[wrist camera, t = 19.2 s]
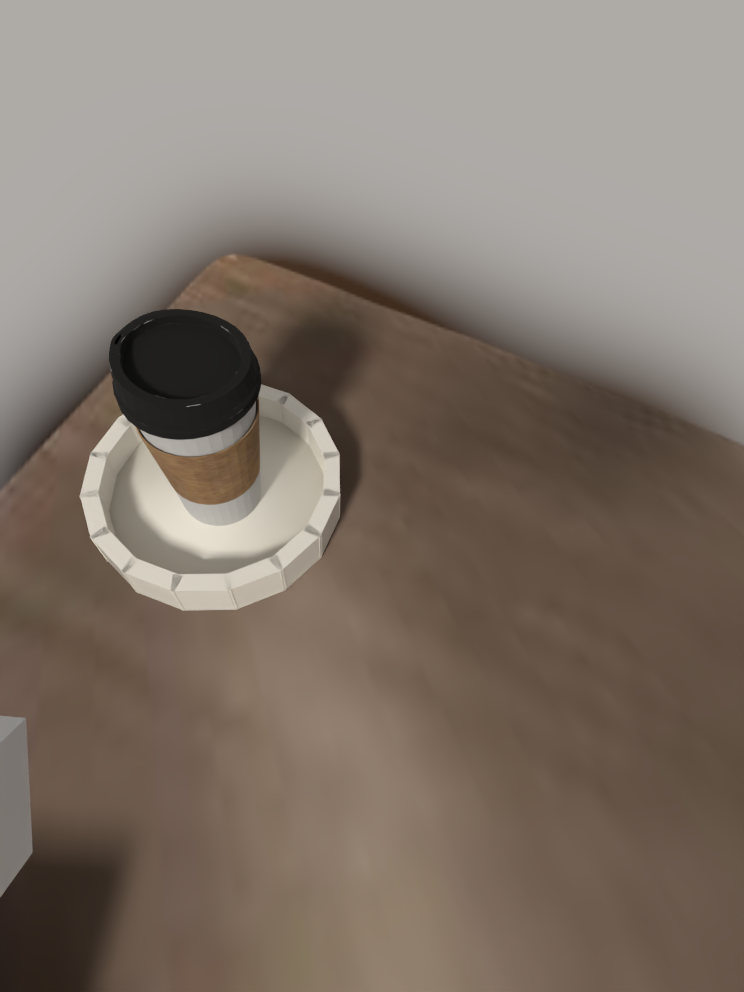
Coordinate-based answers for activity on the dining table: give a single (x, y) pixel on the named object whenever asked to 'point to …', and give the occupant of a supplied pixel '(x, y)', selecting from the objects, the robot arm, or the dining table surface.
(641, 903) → the dining table surface
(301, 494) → the serving bowl
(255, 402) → the coffee cup
